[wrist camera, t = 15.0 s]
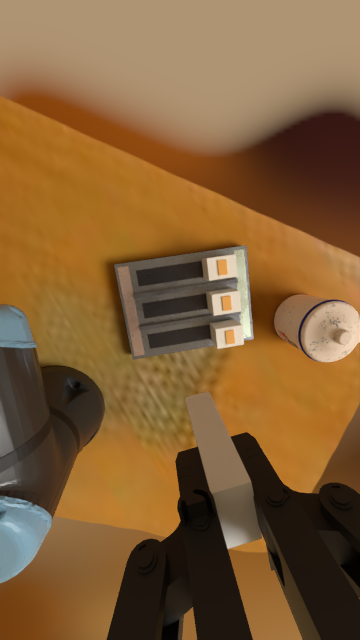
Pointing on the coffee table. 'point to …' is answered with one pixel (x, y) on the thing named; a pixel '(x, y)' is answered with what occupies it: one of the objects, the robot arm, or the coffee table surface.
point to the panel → (177, 301)
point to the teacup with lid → (318, 326)
